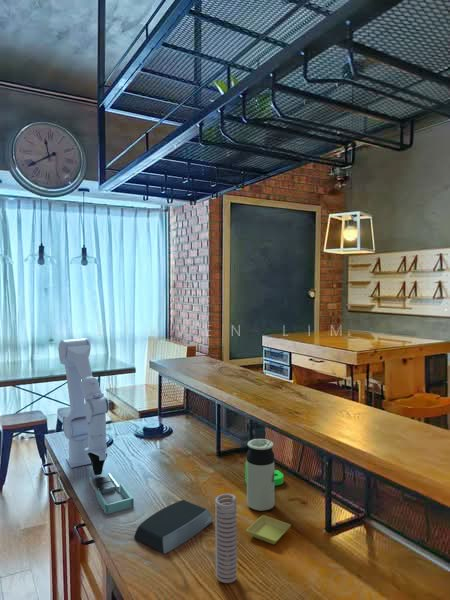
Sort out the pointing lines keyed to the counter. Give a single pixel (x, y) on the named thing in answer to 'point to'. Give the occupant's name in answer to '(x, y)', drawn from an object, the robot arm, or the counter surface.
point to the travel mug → (260, 474)
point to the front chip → (106, 488)
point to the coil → (226, 538)
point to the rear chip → (102, 480)
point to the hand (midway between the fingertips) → (97, 474)
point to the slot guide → (111, 481)
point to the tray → (118, 505)
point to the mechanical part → (277, 476)
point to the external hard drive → (173, 525)
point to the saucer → (268, 529)
